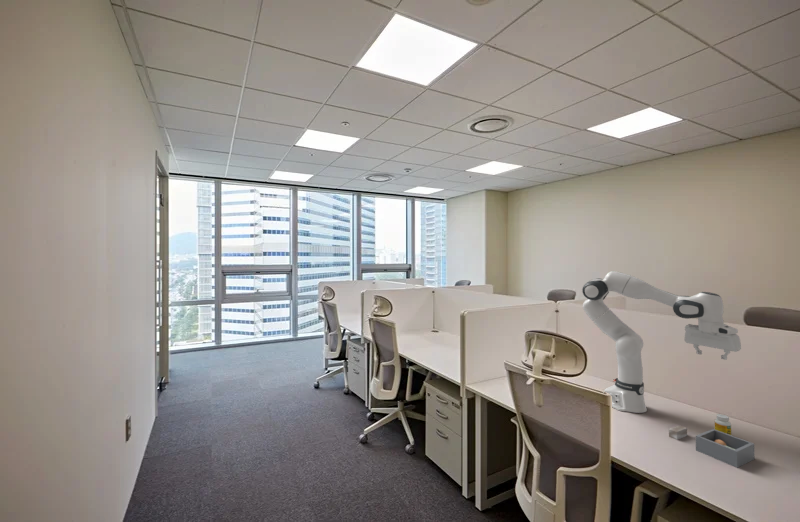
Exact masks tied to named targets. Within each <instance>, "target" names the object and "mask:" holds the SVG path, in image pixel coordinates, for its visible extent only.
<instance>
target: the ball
mask: <svg viewBox="0 0 800 522" xmlns="http://www.w3.org/2000/svg"><path fill="white" fill-rule="evenodd" d="M714 442H716V443H719V444H721V445H724V446H727V445H726V443H725V442H724V441H722V440H715V441H714Z"/></svg>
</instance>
